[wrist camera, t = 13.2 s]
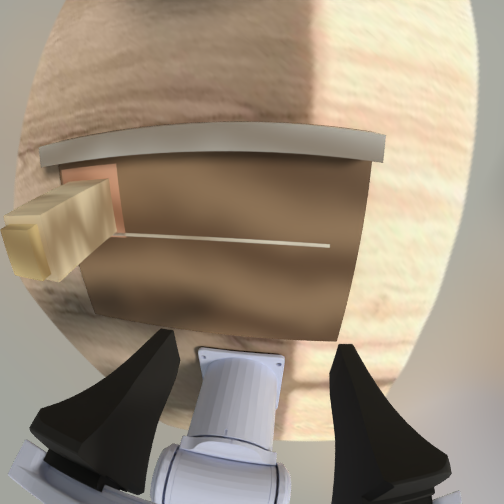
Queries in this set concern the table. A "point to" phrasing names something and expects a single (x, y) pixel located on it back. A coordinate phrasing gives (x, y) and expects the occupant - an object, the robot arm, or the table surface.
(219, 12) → the table surface
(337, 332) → the board
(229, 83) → the table surface
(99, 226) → the tan block
